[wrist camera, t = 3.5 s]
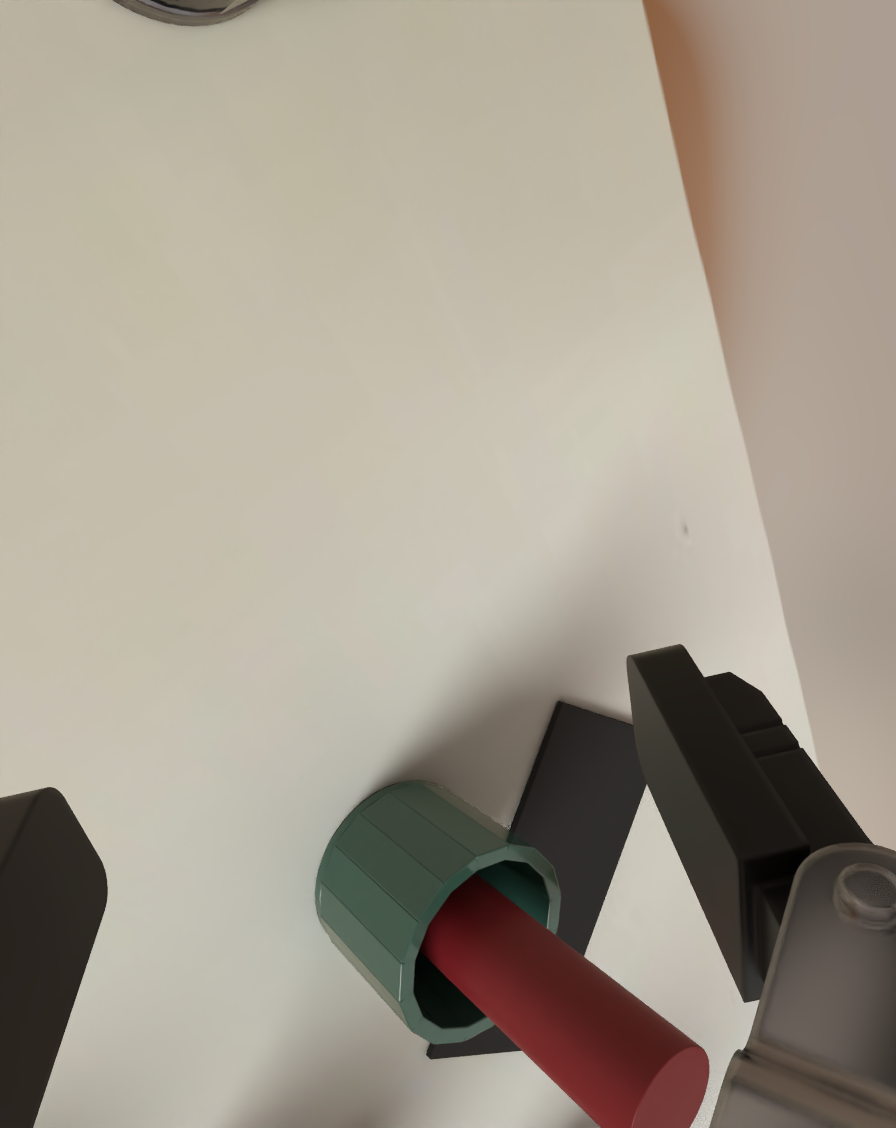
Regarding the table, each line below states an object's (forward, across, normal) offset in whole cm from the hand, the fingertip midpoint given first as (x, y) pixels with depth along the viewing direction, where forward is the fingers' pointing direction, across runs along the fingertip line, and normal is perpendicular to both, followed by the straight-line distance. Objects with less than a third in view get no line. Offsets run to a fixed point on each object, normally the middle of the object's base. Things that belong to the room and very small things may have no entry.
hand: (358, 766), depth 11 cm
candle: (+19, -4, -23) cm, 30 cm away
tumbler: (+19, -4, -23) cm, 30 cm away
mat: (+23, +3, -32) cm, 39 cm away
